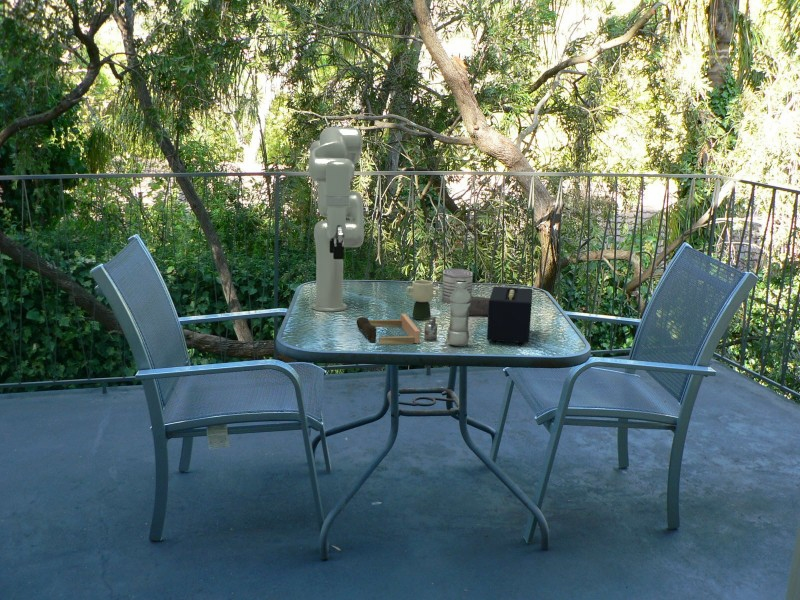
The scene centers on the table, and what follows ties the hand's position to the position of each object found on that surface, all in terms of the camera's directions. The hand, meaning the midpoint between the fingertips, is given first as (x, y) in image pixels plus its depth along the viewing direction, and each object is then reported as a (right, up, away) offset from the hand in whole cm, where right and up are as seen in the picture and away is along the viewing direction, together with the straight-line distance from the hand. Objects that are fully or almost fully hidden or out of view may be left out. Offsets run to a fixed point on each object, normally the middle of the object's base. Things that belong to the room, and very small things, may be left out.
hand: (336, 255), depth 262 cm
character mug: (+27, -21, +27) cm, 43 cm away
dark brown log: (+10, -25, +3) cm, 28 cm away
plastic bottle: (+38, -28, -5) cm, 47 cm away
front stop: (+23, -25, +6) cm, 34 cm away
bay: (+17, -25, +5) cm, 30 cm away
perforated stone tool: (+48, -20, +35) cm, 63 cm away
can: (+41, -15, +55) cm, 70 cm away
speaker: (+55, -26, +6) cm, 61 cm away
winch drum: (+29, -26, 0) cm, 39 cm away
